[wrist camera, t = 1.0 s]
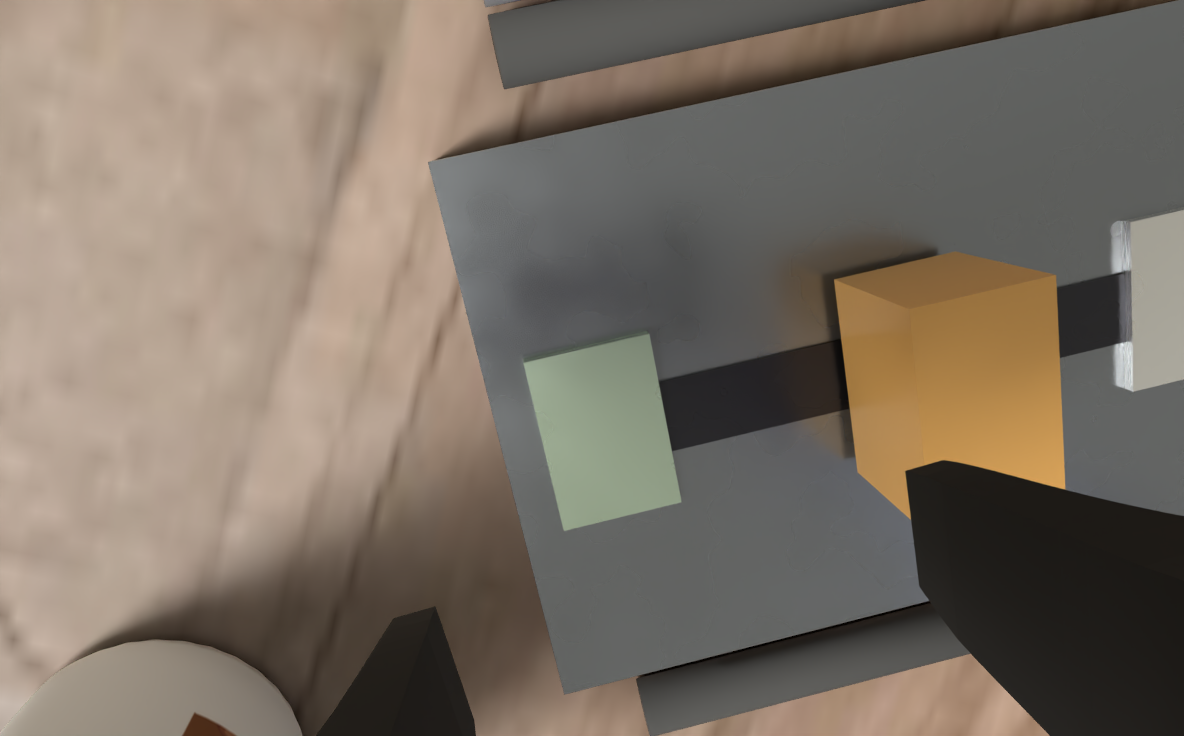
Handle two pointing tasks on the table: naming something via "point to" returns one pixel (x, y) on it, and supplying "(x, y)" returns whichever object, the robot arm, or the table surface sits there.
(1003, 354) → the lever
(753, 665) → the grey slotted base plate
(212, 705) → the milk bottle
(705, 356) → the grey flat slab
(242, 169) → the table surface
